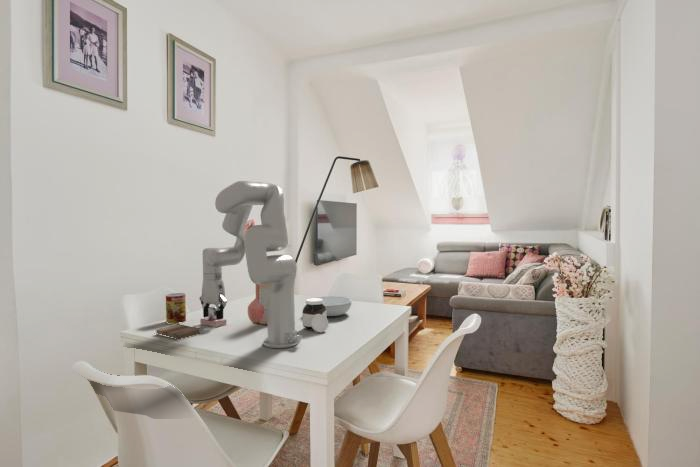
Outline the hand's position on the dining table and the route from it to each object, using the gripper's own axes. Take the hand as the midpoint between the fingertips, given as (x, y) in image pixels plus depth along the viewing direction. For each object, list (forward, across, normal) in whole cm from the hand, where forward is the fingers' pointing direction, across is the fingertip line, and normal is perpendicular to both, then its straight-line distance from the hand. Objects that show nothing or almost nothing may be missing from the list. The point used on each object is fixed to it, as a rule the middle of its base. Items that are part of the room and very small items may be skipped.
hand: (213, 317), depth 165 cm
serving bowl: (+3, -33, -39) cm, 51 cm away
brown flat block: (+3, 0, +17) cm, 17 cm away
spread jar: (+3, -43, -16) cm, 46 cm away
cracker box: (+3, -18, -17) cm, 25 cm away
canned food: (+3, +19, +5) cm, 20 cm away
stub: (+3, 0, 0) cm, 3 cm away
